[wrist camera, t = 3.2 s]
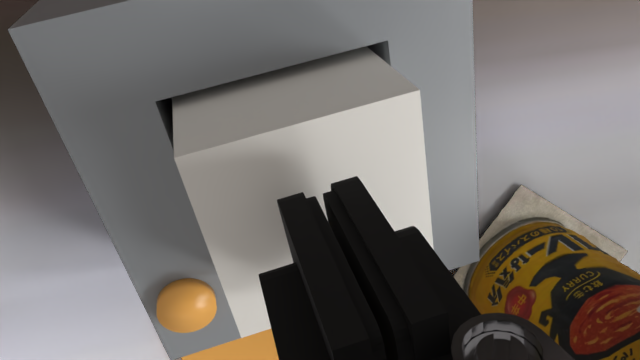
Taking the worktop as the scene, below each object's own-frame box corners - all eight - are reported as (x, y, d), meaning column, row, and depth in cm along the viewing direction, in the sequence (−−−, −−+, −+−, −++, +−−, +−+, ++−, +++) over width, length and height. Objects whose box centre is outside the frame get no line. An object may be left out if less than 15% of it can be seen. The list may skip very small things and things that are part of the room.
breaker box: (389, -90, 16) (479, -80, 11) (416, 185, 21) (485, 268, 17) (53, -13, 15) (2, 34, 10) (170, 259, 20) (171, 371, 15)
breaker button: (358, 40, 14) (420, 89, 11) (380, 195, 17) (435, 275, 13) (171, 88, 13) (173, 158, 10) (225, 241, 16) (241, 338, 13)
